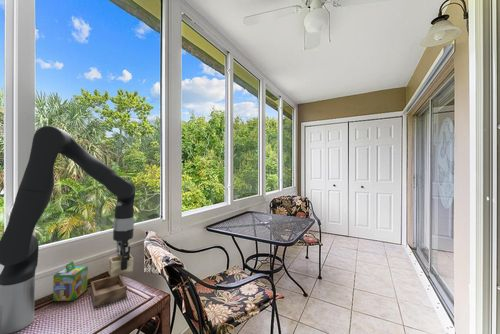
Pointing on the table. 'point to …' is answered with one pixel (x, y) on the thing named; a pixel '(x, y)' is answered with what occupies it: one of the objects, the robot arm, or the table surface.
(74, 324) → the table surface
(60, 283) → the chalk box
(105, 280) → the walnut crate
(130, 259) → the pine crate
